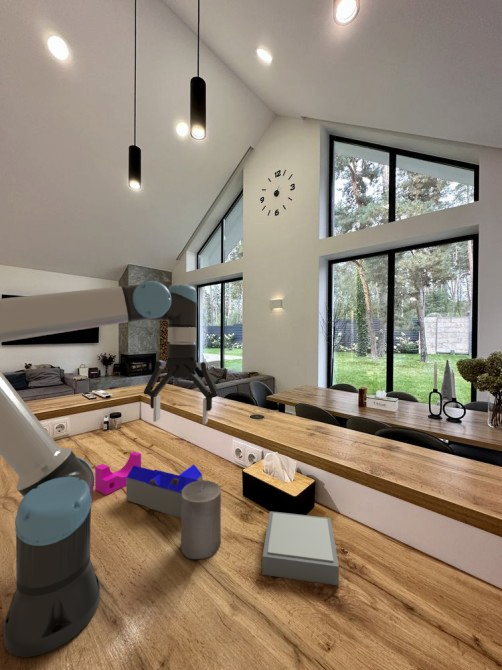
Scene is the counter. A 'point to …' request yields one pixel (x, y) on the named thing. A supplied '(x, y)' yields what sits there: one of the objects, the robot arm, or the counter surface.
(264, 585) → the counter surface
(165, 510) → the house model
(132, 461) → the magenta cradle bracket
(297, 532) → the plinth
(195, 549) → the pillar candle
